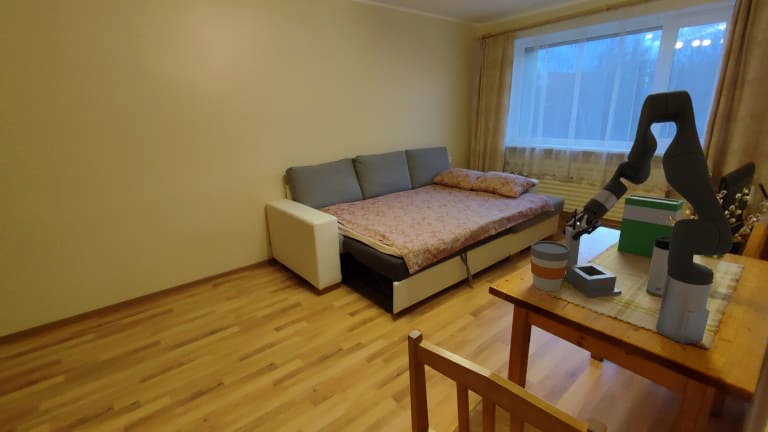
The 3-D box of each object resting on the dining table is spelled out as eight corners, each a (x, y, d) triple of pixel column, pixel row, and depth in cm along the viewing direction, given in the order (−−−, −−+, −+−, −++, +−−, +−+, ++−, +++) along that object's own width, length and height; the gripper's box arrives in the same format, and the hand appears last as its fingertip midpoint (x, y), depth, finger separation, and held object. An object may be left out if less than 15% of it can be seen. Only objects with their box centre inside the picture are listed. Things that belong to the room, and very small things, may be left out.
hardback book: (617, 250, 154) (625, 197, 148) (623, 245, 159) (631, 194, 152) (666, 261, 141) (678, 204, 134) (672, 256, 146) (683, 200, 139)
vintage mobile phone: (571, 265, 142) (577, 206, 135) (576, 271, 137) (583, 209, 130) (561, 265, 142) (567, 206, 135) (566, 271, 137) (573, 209, 130)
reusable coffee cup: (552, 297, 119) (556, 256, 115) (520, 284, 129) (523, 246, 125) (573, 286, 126) (577, 247, 121) (541, 274, 136) (544, 238, 131)
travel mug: (660, 299, 115) (672, 242, 109) (641, 290, 121) (651, 235, 115) (675, 296, 116) (687, 239, 111) (655, 287, 122) (665, 233, 117)
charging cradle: (621, 294, 119) (623, 279, 117) (589, 298, 118) (591, 282, 116) (588, 273, 134) (590, 260, 133) (559, 277, 133) (561, 263, 131)
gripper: (582, 194, 139) (551, 225, 141) (609, 202, 126) (574, 236, 128) (592, 205, 141) (562, 236, 143) (620, 215, 128) (586, 249, 130)
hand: (568, 236), depth 135 cm, fingers closed on vintage mobile phone, 5 cm apart
